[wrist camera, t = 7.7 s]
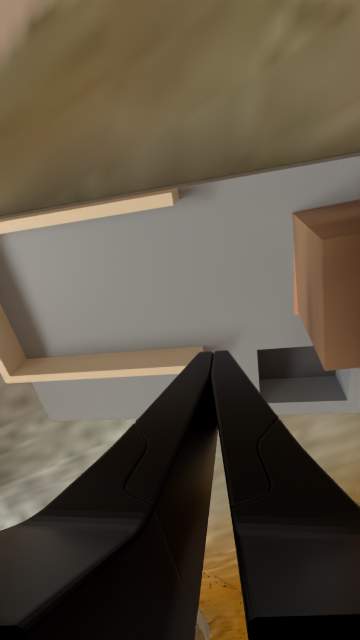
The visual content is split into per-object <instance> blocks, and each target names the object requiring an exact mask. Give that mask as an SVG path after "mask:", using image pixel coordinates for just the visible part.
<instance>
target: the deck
mask: <svg viewBox="0 0 360 640" xmlns="http://www.w3.org/2000/svg"><path fill="white" fill-rule="evenodd" d="M358 199H360V152H358V153H352V154H346V155H341V156H335V157H329V158H324V159H318V160H313V161H307V162H301V163H296V164H290V165H285V166H279V167H273V168H268V169H262V170H256V171H251V172H245V173H240V174H234V175H228V176H223V177H217V178H211V179H206V180H200V181H195V182H189V183H183V184H178V185H172V186H166V187H161V188H155V189H150V190H144V191H138V192H133V193H127V194H122V195H116V196H110V197H105V198H99V199H93V200H88V201H82V202H77V203H71V204H65V205H60V206H54V207H48V208H43V209H37V210H32V211H26V212H20V213H15V214H9V215H4V216H0V373H1V375H2V377H3V379H4V381H5V382H6V383H23V382H31V383H32V385H33V387H34V389H35V391H36V393H37V395H38V397H39V399H40V401H41V403H42V405H43V407H44V410H45V412H46V414H47V416H48V418H49V420H50V421H76V420H112V419H138V418H139V417H140V416H141V415H142V414H143V413H144V412H145V411H146V409H147V408H148V407H149V406H150V405H151V404H152V403H153V402H154V401H155V400H156V399H157V397H158V396H159V395H160V394H161V393H162V392H163V391H164V390H165V389H166V388H167V387H168V385H169V384H170V383H171V382H172V381H173V380H174V379H175V378H176V377H177V376H178V375H179V373H180V372H181V371H182V370H183V369H184V368H185V367H186V366H187V365H188V364H189V362H190V361H191V360H192V359H193V358H194V357H195V356H196V355H197V354H198V353H199V352H205V351H212V352H213V353H214V351H219V350H228V351H229V352H230V353H231V355H232V356H233V358H234V359H235V360H236V362H237V363H238V364H239V366H240V367H241V368H242V370H243V371H244V372H245V374H246V375H247V376H248V378H249V379H250V380H251V382H252V383H253V384H254V386H255V387H256V388H257V390H258V391H259V392H260V394H261V395H262V396H263V398H264V399H265V400H266V402H267V403H268V404H269V406H270V407H271V408H272V410H273V411H274V412H275V414H276V415H294V414H330V413H360V368H352V369H341V370H330V371H325V370H324V368H323V365H322V363H321V361H320V359H319V357H318V354H317V352H316V350H315V348H314V346H313V343H312V341H311V339H310V337H309V335H308V332H307V330H306V328H305V326H304V324H303V321H302V319H301V317H300V315H294V237H293V220H292V213H293V212H298V211H303V210H308V209H313V208H318V207H323V206H328V205H333V204H338V203H343V202H348V201H353V200H358Z"/></svg>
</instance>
